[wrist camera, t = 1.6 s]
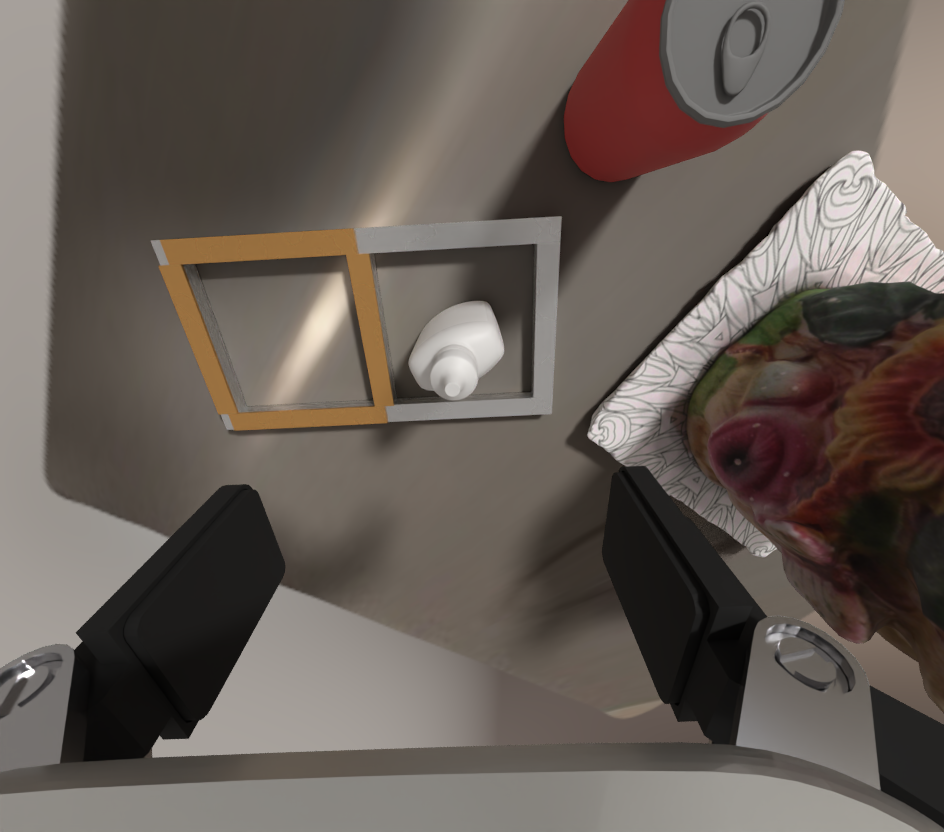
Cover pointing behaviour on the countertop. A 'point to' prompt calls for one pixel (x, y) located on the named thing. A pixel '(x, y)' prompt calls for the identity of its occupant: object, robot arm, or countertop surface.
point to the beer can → (689, 79)
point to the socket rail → (363, 317)
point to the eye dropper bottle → (457, 350)
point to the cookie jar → (814, 411)
